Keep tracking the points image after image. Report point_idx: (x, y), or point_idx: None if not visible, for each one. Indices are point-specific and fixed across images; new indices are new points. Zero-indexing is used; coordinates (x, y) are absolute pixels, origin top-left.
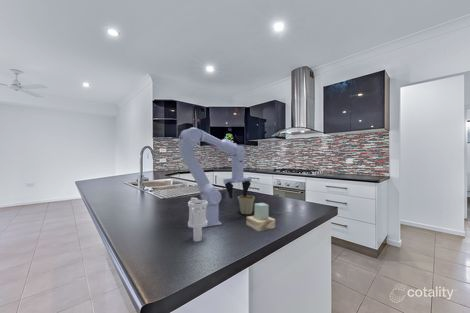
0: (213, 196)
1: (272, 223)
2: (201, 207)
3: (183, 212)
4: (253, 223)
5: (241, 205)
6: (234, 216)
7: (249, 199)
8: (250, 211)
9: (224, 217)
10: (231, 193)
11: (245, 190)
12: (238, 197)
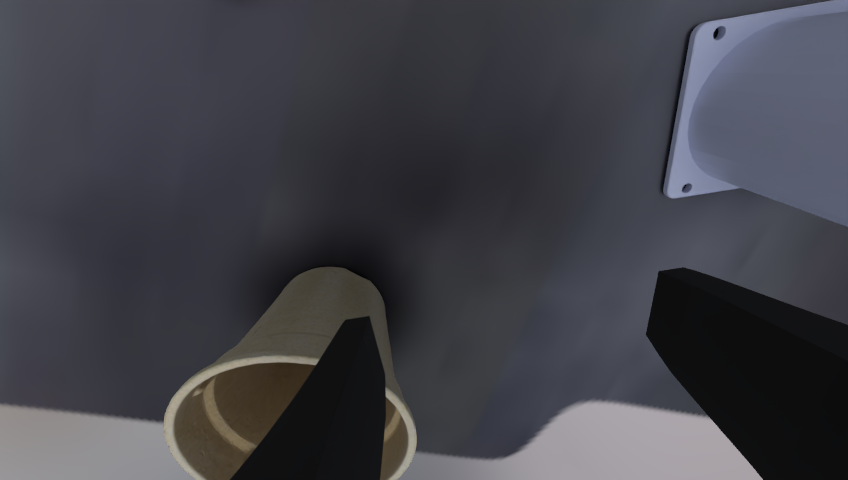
0: None
1: None
2: None
3: None
4: None
5: (383, 340)
6: (468, 242)
7: (273, 350)
8: (299, 281)
9: (561, 236)
10: (795, 317)
11: (338, 442)
12: (397, 460)
